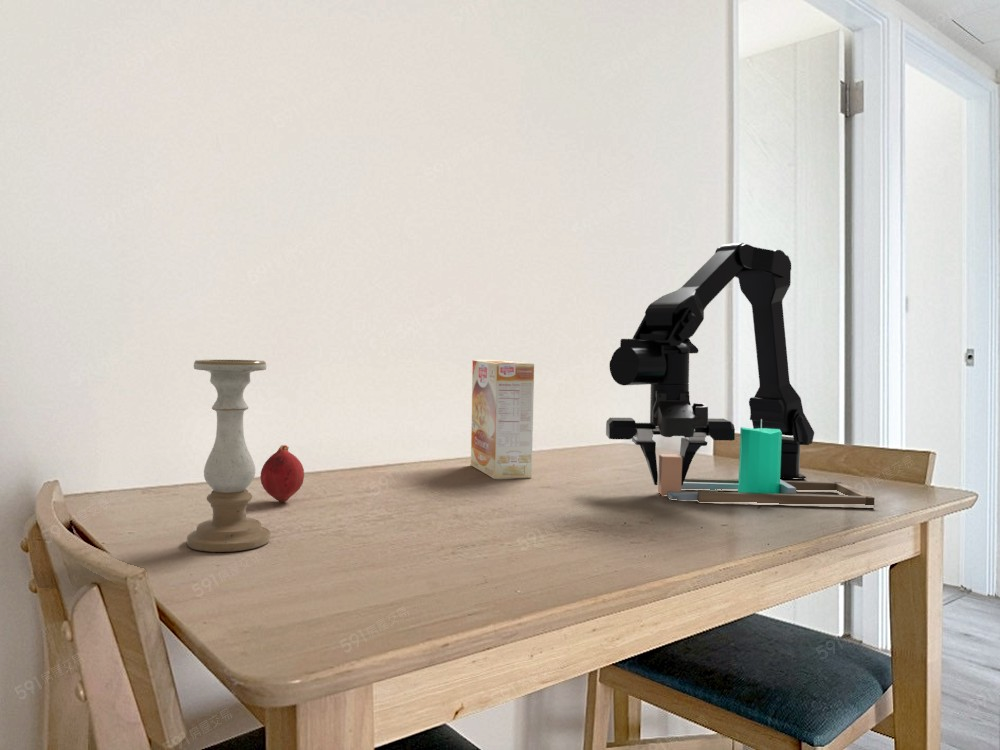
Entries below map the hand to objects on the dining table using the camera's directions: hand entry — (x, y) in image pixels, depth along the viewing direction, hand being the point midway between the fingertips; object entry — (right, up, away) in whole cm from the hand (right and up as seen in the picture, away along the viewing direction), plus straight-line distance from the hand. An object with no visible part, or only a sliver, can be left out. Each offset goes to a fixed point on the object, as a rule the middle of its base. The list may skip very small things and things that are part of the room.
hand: (668, 484), depth 123 cm
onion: (-56, -1, -12) cm, 57 cm away
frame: (+8, -2, 0) cm, 8 cm away
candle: (+14, -2, -1) cm, 14 cm away
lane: (+16, -2, -1) cm, 16 cm away
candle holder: (-56, -2, -34) cm, 65 cm away
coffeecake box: (-26, 0, +18) cm, 31 cm away
